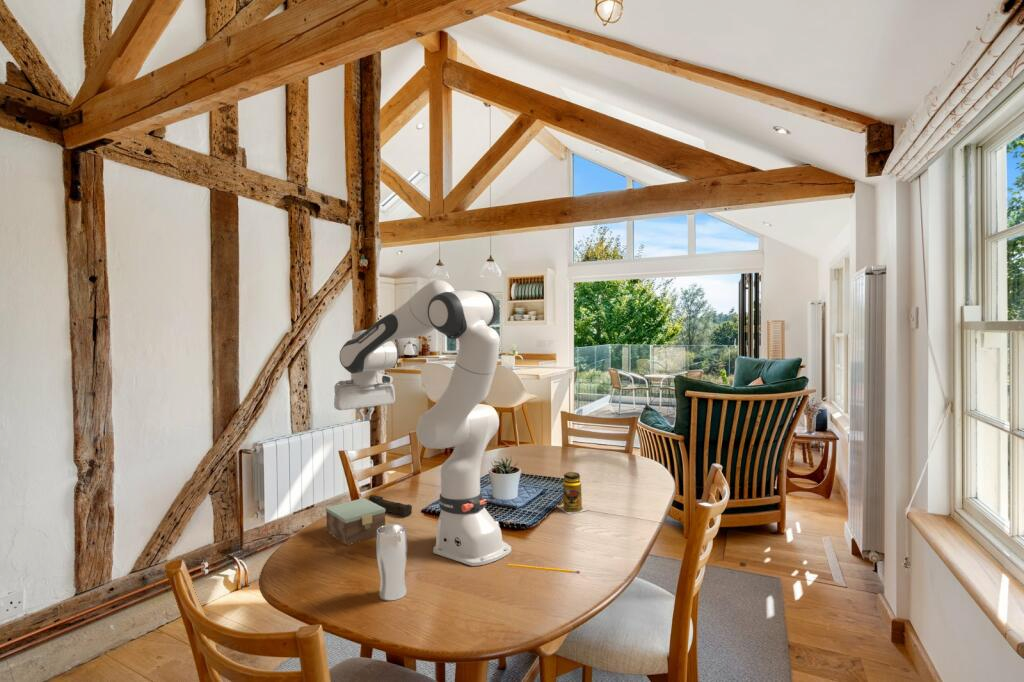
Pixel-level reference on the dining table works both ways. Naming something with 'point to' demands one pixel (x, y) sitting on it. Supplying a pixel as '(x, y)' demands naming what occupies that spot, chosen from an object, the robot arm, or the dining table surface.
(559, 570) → the pencil
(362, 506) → the lid
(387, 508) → the dark brown rough bar
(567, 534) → the dining table surface
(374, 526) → the box
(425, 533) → the dining table surface
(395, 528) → the beer glass
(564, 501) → the condiment
